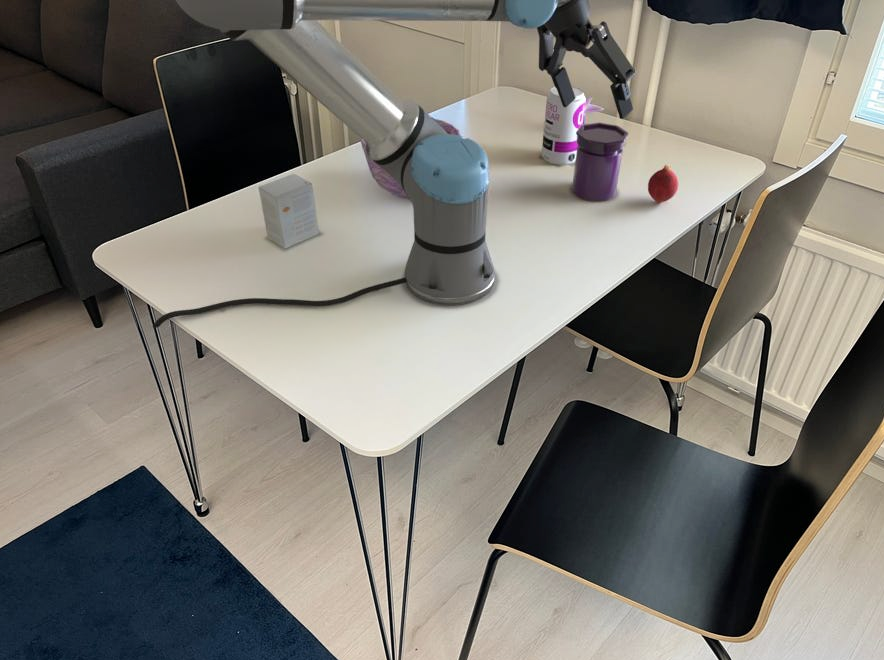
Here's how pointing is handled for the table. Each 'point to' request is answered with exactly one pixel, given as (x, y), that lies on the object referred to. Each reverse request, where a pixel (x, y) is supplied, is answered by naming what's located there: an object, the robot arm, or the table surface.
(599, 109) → the lily
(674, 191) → the onion
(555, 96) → the supplement can
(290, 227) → the small box
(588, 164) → the jar
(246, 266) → the table surface
